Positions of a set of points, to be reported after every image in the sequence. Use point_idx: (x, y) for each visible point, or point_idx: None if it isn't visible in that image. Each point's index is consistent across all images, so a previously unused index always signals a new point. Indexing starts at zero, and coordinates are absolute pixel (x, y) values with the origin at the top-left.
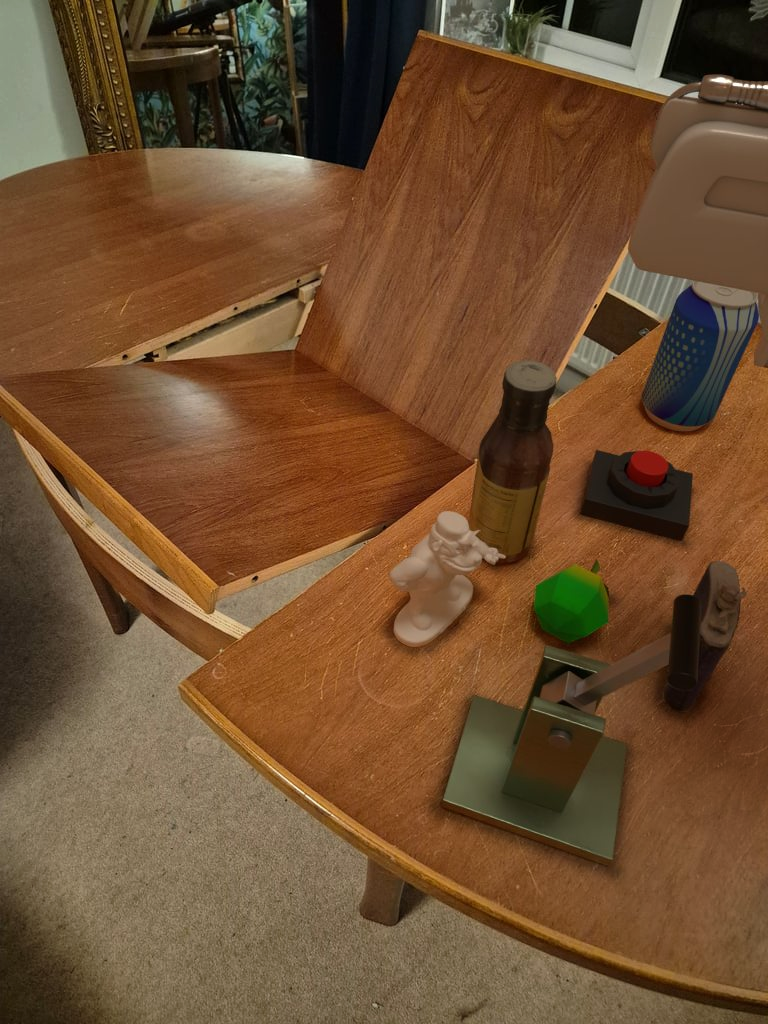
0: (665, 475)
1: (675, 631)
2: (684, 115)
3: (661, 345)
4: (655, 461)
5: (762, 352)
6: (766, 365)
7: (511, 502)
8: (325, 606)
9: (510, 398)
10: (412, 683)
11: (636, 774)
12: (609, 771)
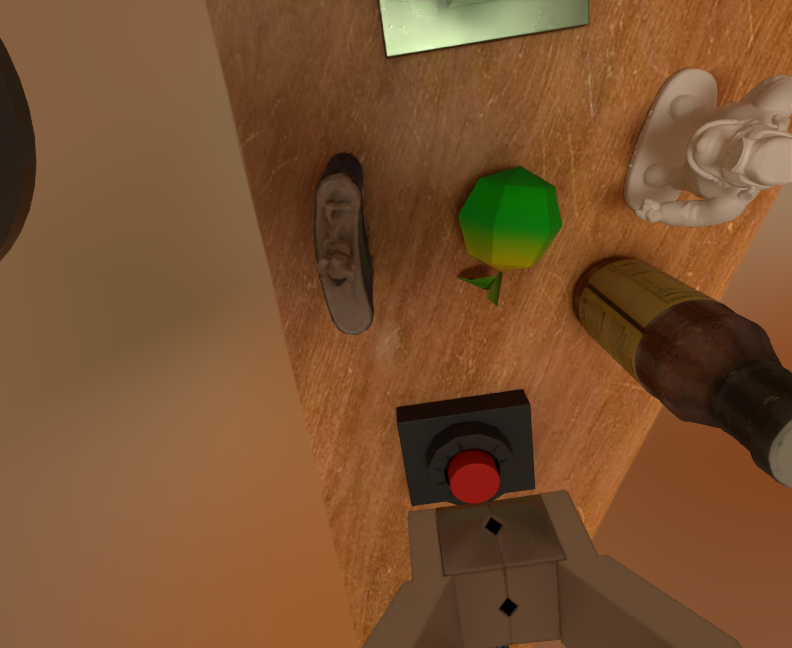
0: (446, 480)
1: None
2: None
3: None
4: (468, 489)
5: (578, 522)
6: (536, 496)
7: (663, 294)
8: None
9: None
10: (664, 13)
11: (362, 34)
12: (396, 2)
